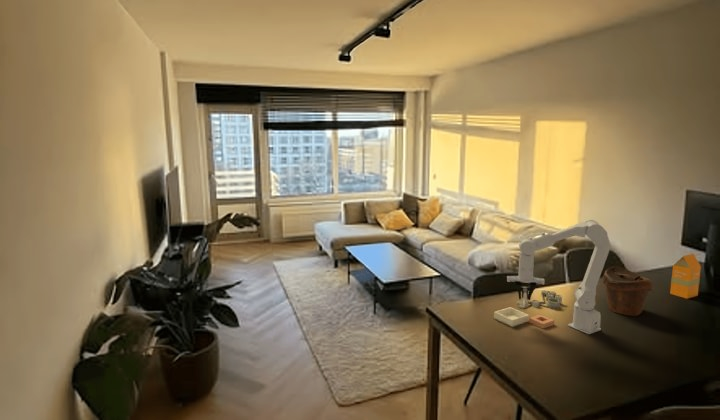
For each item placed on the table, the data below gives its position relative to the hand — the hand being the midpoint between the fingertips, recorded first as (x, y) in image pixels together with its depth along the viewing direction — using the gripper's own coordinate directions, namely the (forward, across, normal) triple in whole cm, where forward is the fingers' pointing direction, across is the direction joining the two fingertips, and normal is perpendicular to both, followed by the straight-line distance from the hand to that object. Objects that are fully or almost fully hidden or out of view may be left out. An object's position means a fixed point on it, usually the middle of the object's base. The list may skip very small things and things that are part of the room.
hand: (524, 298), depth 179 cm
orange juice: (+10, +77, +50) cm, 92 cm away
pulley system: (+11, +11, +23) cm, 28 cm away
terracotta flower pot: (+10, +45, +23) cm, 51 cm away
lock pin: (+3, 0, 0) cm, 3 cm away
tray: (+10, -5, 0) cm, 11 cm away
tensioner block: (+10, +7, 0) cm, 12 cm away
